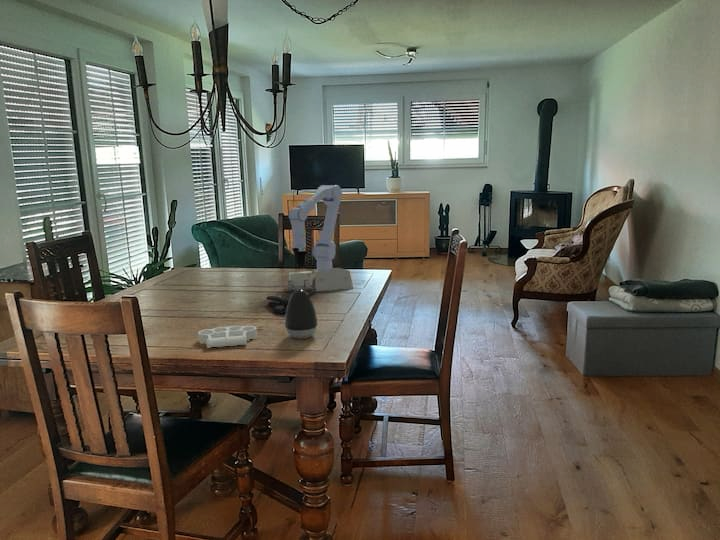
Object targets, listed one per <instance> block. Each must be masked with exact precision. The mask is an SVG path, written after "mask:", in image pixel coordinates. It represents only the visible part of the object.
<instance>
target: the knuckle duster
mask: <svg viewBox="0 0 720 540" xmlns="http://www.w3.org/2000/svg"><path fill="white" fill-rule="evenodd" d="M257 329H258V328H257V326H255V325H254V326H253V325H245V326H244V325H231V326H219V327H215V328H209V329H207V328H206V329H201V330H199V331H198V332H197V338H198V340H199V341H201V342H207V344H206V348H207V349H208V348H210V349H212V348H211V347H218V348H224V347H223V346H230V347H238V346H237V345H241V346H247V345H248V341H249V340H248V339H252V338H255V337H257V338H258V334H257V333H258V331H257ZM255 339H256V338H255ZM198 340H197V341H198ZM247 340H248V341H247ZM199 341H198V342H199Z"/></svg>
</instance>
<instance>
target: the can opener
mask: <svg viewBox="0 0 720 540" xmlns="http://www.w3.org/2000/svg"><path fill="white" fill-rule="evenodd" d="M266 300H267V301H269V302H268V303H267V306H269V307H271V308H273V309H272V310H273V312H274V313H275V312H276V313H275V314H278V313H279V314H283V313H286V310H287V306H288V302H289V300H290V298H286V297H284V296H283V297H282V295H279V296H278V295H268V296H267V297H266Z"/></svg>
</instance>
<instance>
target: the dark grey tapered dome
mask: <svg viewBox="0 0 720 540" xmlns="http://www.w3.org/2000/svg"><path fill="white" fill-rule="evenodd" d="M316 294H317V291H316V290H313V291H309V292H308V291H304V290H296V291H295V292H292V293H291V296H290V298H289V299H290V300H289V302H288V306H287V310H286V312H285V319H284V326H285V328H286V331H287V333H288V334H289V336H290V337H292V338H294V339H296V338H297V340H303V339H308V338H310V337H312V336H313V335H314V334H315V332H316V330H317V326H318V317H317V313H316V308H315V306H314V303H313V300H312V298H311V297H313V296H316Z"/></svg>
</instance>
